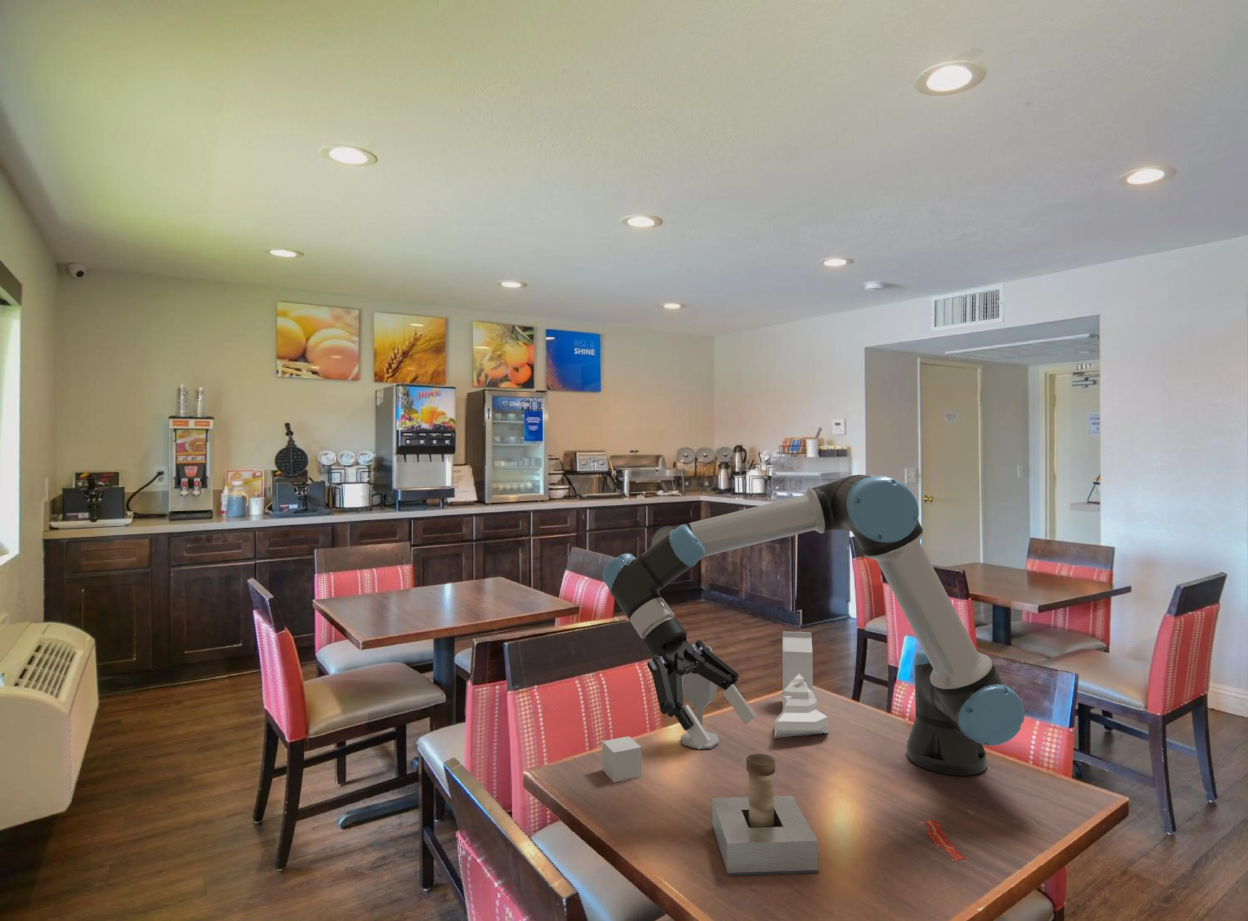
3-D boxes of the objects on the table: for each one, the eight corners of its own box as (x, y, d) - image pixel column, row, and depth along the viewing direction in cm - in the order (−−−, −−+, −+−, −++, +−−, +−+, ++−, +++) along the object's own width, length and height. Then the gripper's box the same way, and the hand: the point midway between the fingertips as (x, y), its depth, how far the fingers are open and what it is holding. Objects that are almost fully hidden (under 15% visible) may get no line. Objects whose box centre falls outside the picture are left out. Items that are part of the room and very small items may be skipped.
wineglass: (676, 747, 151) (675, 652, 151) (685, 732, 160) (684, 641, 159) (715, 752, 148) (714, 655, 148) (722, 736, 157) (722, 644, 157)
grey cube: (602, 770, 141) (602, 741, 141) (629, 764, 143) (628, 736, 143) (614, 783, 135) (613, 752, 135) (641, 776, 138) (641, 746, 138)
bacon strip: (947, 863, 108) (947, 859, 108) (909, 813, 123) (909, 810, 123) (971, 862, 108) (971, 858, 108) (930, 813, 123) (930, 809, 123)
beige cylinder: (772, 836, 115) (770, 753, 115) (779, 852, 110) (778, 765, 110) (744, 837, 114) (743, 754, 114) (751, 853, 110) (749, 766, 110)
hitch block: (792, 824, 119) (792, 795, 119) (818, 873, 105) (817, 840, 105) (712, 826, 119) (712, 797, 119) (727, 876, 105) (727, 843, 105)
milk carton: (813, 712, 171) (812, 636, 171) (783, 710, 172) (783, 635, 172) (811, 702, 178) (810, 629, 178) (782, 700, 179) (782, 628, 179)
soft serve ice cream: (756, 734, 162) (755, 671, 165) (815, 734, 164) (813, 672, 168) (778, 742, 150) (776, 674, 153) (841, 742, 152) (838, 675, 156)
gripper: (689, 627, 137) (754, 721, 127) (601, 655, 119) (670, 768, 109) (710, 605, 134) (780, 699, 124) (623, 630, 115) (697, 744, 105)
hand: (728, 732), depth 116 cm, fingers open, 13 cm apart
